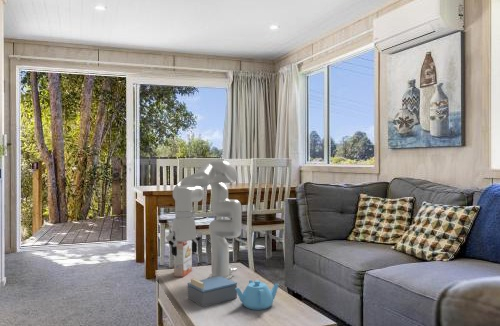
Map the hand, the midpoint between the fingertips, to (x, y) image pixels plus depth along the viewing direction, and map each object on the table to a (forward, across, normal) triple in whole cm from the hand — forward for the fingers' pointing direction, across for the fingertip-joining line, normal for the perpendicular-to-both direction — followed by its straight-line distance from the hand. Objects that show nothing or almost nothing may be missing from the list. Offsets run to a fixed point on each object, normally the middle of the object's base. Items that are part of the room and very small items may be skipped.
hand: (184, 253), depth 184 cm
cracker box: (+23, -23, -47) cm, 57 cm away
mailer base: (+23, -14, -1) cm, 27 cm away
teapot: (+23, -25, +19) cm, 39 cm away
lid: (+16, -14, -1) cm, 22 cm away
